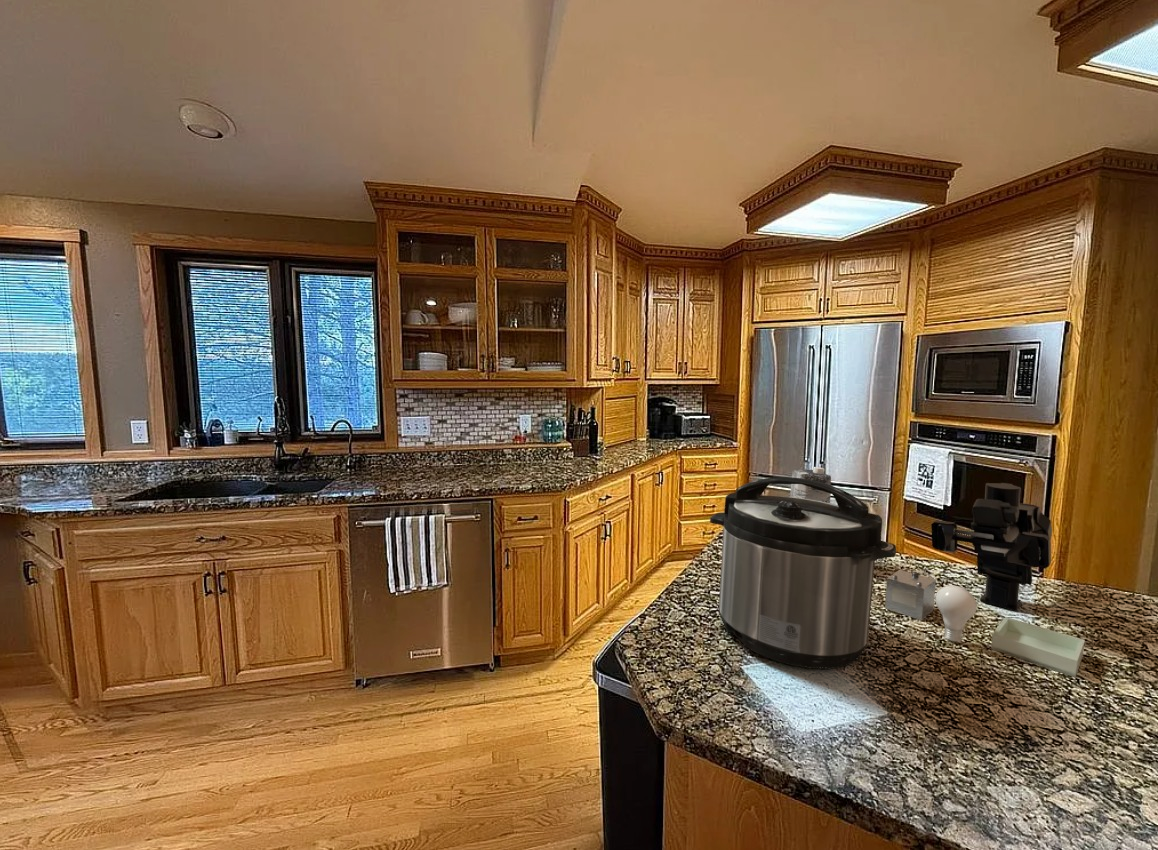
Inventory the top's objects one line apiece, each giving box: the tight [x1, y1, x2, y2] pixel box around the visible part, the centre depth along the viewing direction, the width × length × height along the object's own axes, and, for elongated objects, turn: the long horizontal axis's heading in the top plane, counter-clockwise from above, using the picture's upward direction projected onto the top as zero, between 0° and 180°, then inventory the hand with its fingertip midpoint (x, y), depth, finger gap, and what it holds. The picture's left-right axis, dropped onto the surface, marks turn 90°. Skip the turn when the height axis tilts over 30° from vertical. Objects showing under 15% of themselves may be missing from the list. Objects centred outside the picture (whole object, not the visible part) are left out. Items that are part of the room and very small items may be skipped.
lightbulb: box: [934, 585, 978, 643], centre depth 93 cm, size 6×6×11 cm
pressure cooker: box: [709, 476, 897, 669], centre depth 93 cm, size 30×28×32 cm
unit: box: [884, 569, 937, 621], centre depth 106 cm, size 8×7×8 cm
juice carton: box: [789, 466, 832, 503], centre depth 136 cm, size 9×10×27 cm
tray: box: [990, 616, 1086, 678], centre depth 89 cm, size 11×11×3 cm
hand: (975, 553), depth 94 cm, fingers open, 9 cm apart
